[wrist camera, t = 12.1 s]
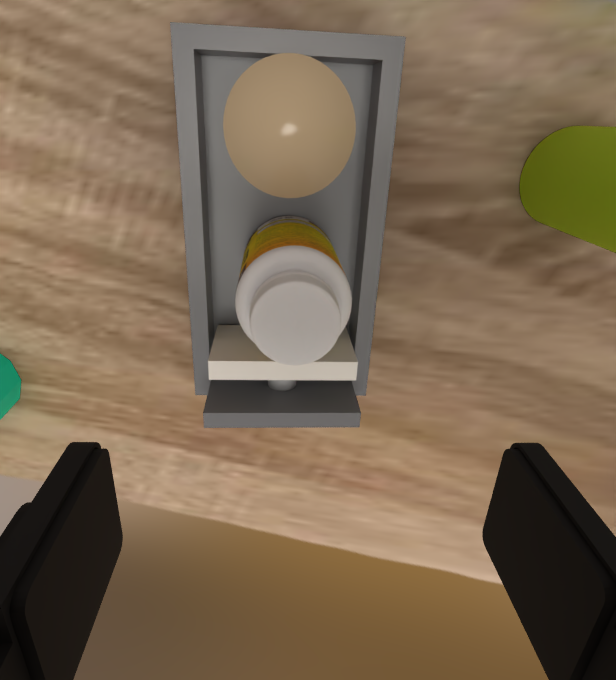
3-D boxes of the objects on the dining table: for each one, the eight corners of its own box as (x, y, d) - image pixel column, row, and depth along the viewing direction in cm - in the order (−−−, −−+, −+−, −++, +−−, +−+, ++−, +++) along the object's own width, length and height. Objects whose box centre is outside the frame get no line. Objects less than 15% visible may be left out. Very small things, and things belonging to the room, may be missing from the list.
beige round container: (342, 69, 25) (361, 56, 20) (335, 183, 28) (350, 200, 22) (232, 63, 25) (220, 48, 19) (235, 180, 27) (225, 195, 22)
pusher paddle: (345, 326, 31) (357, 362, 27) (344, 342, 32) (356, 380, 27) (217, 324, 31) (207, 360, 26) (218, 341, 31) (208, 379, 27)
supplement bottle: (236, 220, 28) (217, 271, 19) (328, 207, 28) (355, 252, 19) (252, 307, 31) (243, 390, 21) (337, 295, 31) (365, 373, 21)
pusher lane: (389, 46, 26) (427, 23, 19) (357, 369, 34) (376, 427, 28) (183, 34, 25) (152, 6, 18) (202, 368, 33) (186, 427, 27)
